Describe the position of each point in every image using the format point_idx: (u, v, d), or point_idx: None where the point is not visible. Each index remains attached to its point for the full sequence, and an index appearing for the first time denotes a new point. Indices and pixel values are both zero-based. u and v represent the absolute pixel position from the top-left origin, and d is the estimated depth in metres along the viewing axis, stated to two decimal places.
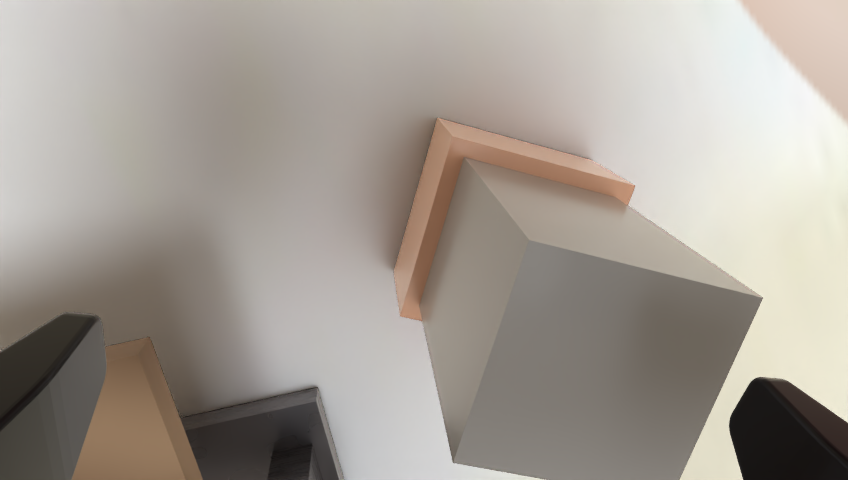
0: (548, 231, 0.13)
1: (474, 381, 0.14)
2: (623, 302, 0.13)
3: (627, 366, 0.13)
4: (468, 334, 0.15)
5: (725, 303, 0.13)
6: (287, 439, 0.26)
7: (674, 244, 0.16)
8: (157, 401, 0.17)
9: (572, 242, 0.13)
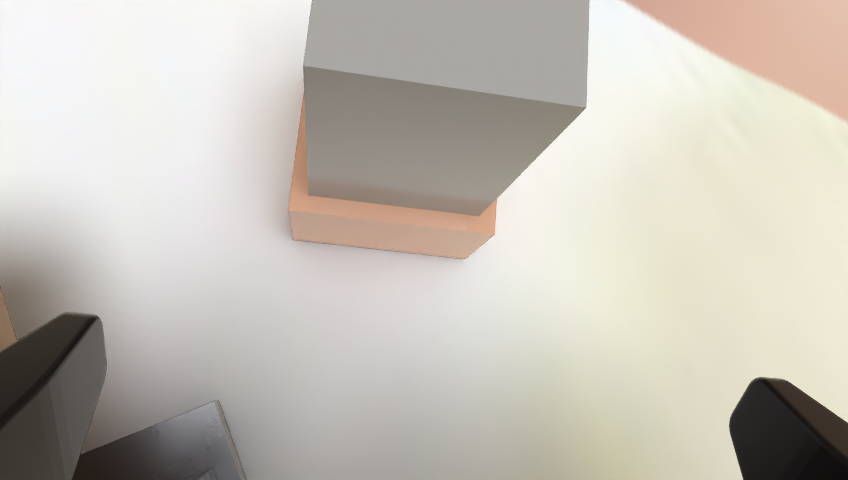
0: None
1: None
2: None
3: None
4: None
5: None
6: (179, 465, 0.20)
7: None
8: None
9: None
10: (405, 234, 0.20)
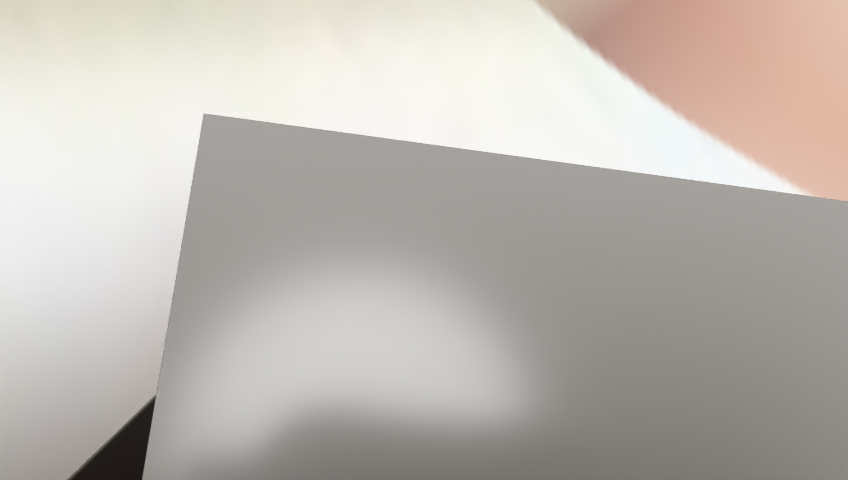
0: None
1: None
2: (574, 287, 0.04)
3: None
4: None
5: None
6: None
7: None
8: None
9: None
10: None
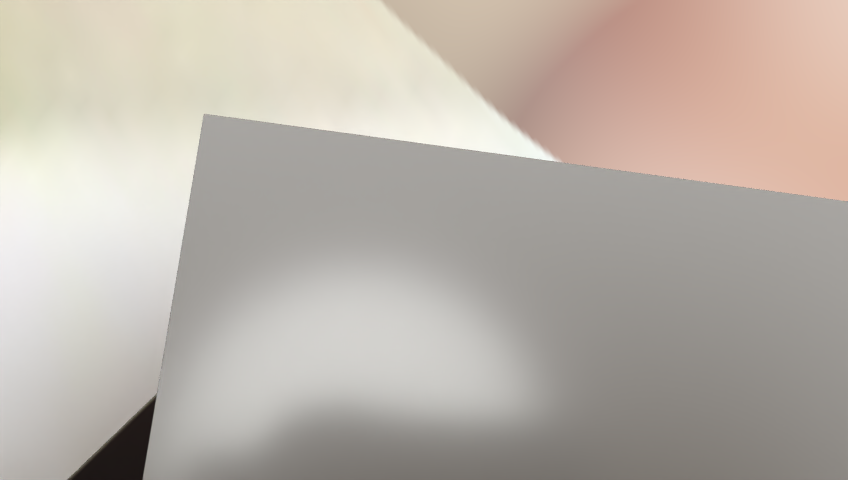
0: None
1: None
2: (574, 287, 0.04)
3: None
4: None
5: None
6: None
7: None
8: None
9: None
10: None
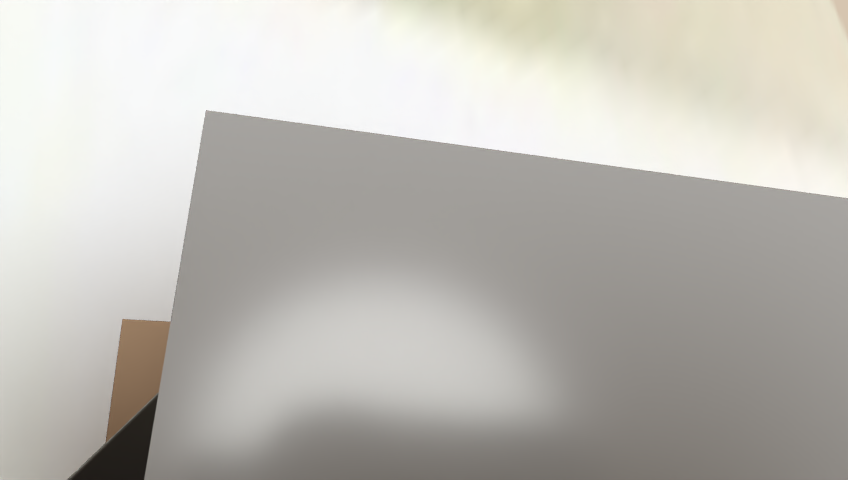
0: None
1: None
2: (576, 284, 0.04)
3: None
4: None
5: None
6: None
7: None
8: None
9: None
10: None
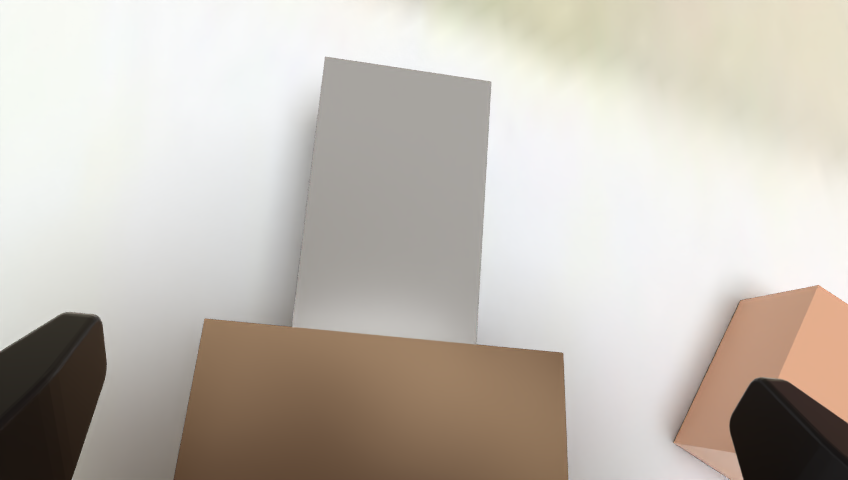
0: None
1: None
2: None
3: None
4: None
5: None
6: None
7: None
8: (564, 409, 0.17)
9: None
10: None
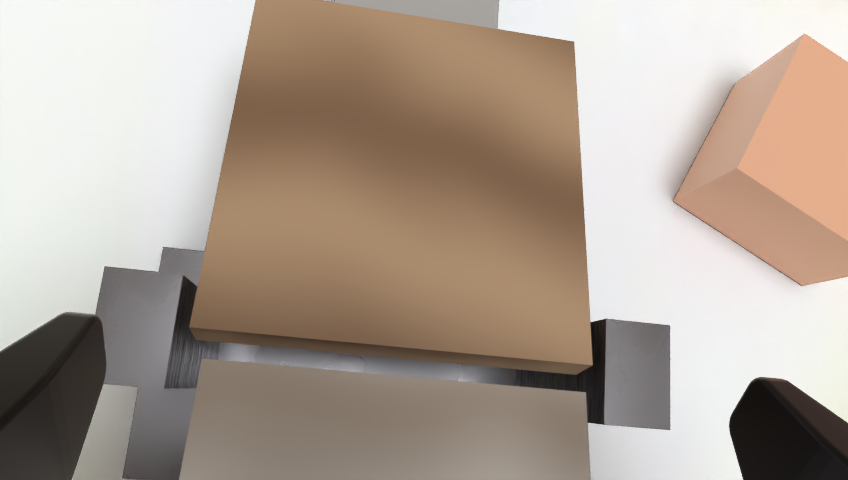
0: None
1: None
2: None
3: None
4: None
5: None
6: None
7: None
8: (575, 83, 0.19)
9: None
10: (798, 235, 0.23)
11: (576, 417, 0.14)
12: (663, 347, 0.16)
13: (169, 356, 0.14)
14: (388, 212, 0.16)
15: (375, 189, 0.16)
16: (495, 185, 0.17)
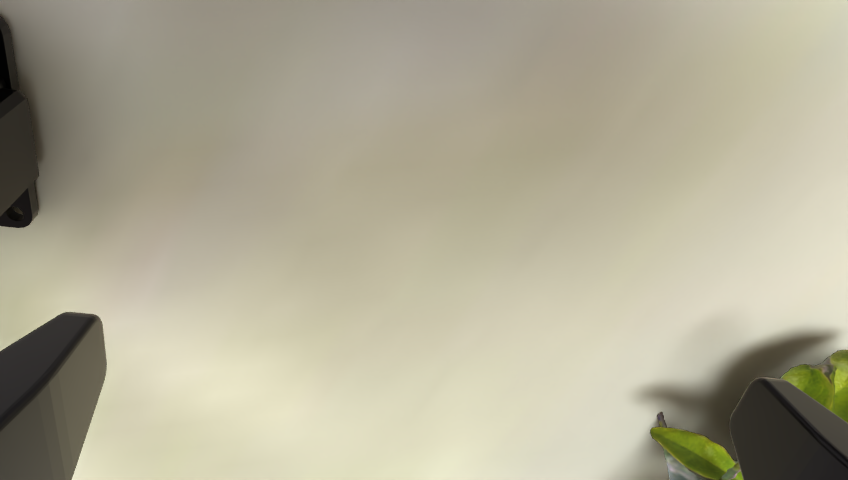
0: None
1: None
2: None
3: None
4: None
5: None
6: None
7: None
8: None
9: None
10: None
11: None
12: None
13: None
14: None
15: None
16: None
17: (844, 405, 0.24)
